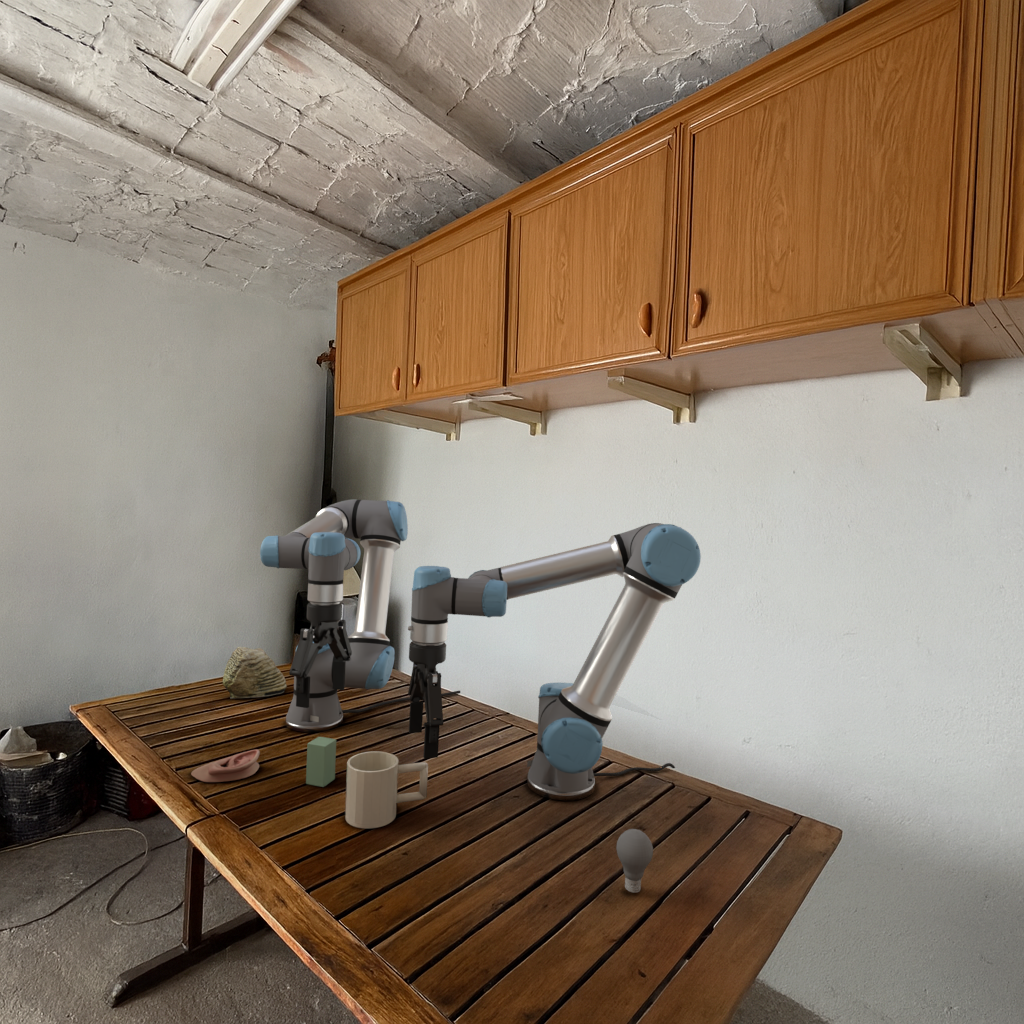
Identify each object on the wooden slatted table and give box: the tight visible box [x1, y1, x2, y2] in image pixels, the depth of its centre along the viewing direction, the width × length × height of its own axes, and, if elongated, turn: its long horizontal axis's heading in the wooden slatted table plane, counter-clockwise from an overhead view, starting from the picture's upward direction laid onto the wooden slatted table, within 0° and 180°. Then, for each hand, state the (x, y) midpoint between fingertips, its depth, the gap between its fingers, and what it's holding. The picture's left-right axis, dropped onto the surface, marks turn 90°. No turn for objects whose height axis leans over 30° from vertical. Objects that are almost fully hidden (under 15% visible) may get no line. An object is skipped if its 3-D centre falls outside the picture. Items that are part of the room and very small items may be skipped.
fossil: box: [222, 646, 288, 699], centre depth 198 cm, size 9×18×15 cm, turn 132°
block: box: [305, 736, 337, 788], centre depth 141 cm, size 4×4×9 cm
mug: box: [344, 750, 429, 829], centre depth 128 cm, size 16×10×11 cm, turn 111°
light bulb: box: [615, 828, 654, 894], centre depth 106 cm, size 6×6×10 cm
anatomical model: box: [190, 748, 261, 783], centre depth 143 cm, size 13×4×12 cm
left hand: (321, 697), depth 140 cm, fingers open, 13 cm apart
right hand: (422, 744), depth 130 cm, fingers open, 13 cm apart
